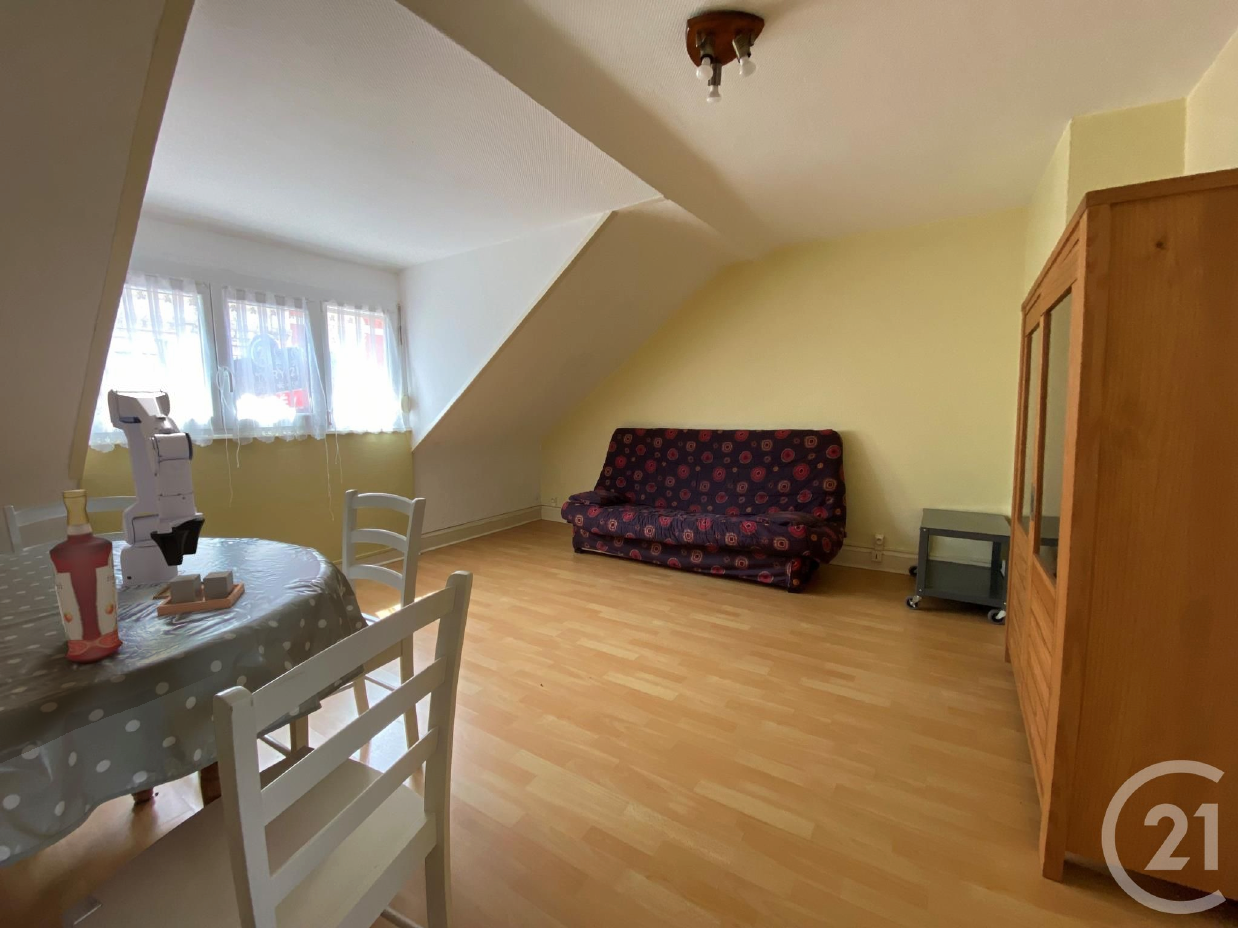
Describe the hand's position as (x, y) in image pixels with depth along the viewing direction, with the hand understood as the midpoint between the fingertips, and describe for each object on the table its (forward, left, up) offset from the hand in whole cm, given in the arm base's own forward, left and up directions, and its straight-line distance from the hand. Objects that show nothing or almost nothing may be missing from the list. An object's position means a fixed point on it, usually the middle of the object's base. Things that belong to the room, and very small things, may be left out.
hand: (182, 559), depth 111 cm
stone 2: (+6, 0, -9) cm, 11 cm away
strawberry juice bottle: (-11, -9, -10) cm, 18 cm away
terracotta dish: (+3, 0, -10) cm, 10 cm away
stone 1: (0, 0, -9) cm, 9 cm away
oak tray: (-2, +10, -10) cm, 14 cm away
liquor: (-6, -20, -10) cm, 24 cm away
